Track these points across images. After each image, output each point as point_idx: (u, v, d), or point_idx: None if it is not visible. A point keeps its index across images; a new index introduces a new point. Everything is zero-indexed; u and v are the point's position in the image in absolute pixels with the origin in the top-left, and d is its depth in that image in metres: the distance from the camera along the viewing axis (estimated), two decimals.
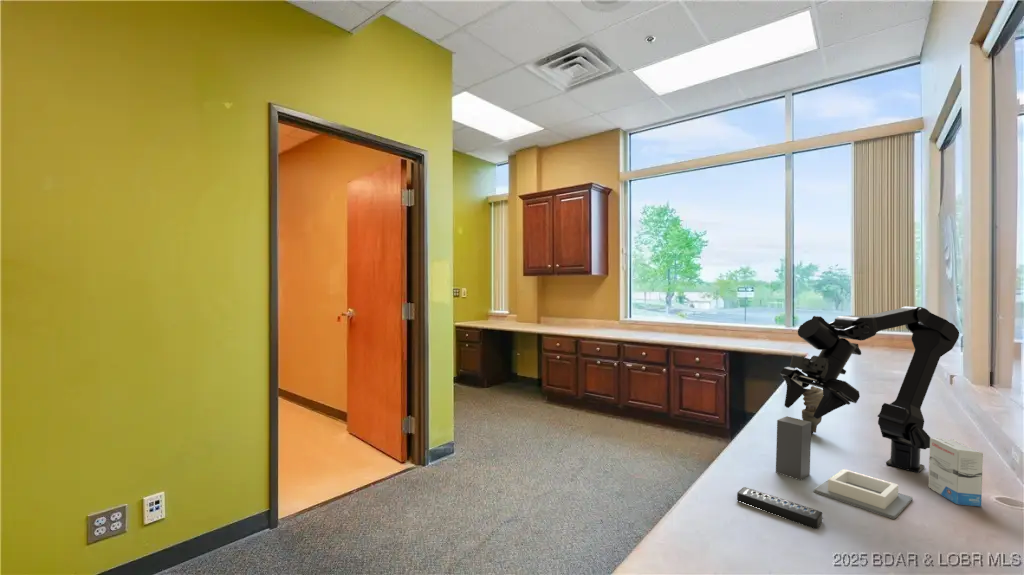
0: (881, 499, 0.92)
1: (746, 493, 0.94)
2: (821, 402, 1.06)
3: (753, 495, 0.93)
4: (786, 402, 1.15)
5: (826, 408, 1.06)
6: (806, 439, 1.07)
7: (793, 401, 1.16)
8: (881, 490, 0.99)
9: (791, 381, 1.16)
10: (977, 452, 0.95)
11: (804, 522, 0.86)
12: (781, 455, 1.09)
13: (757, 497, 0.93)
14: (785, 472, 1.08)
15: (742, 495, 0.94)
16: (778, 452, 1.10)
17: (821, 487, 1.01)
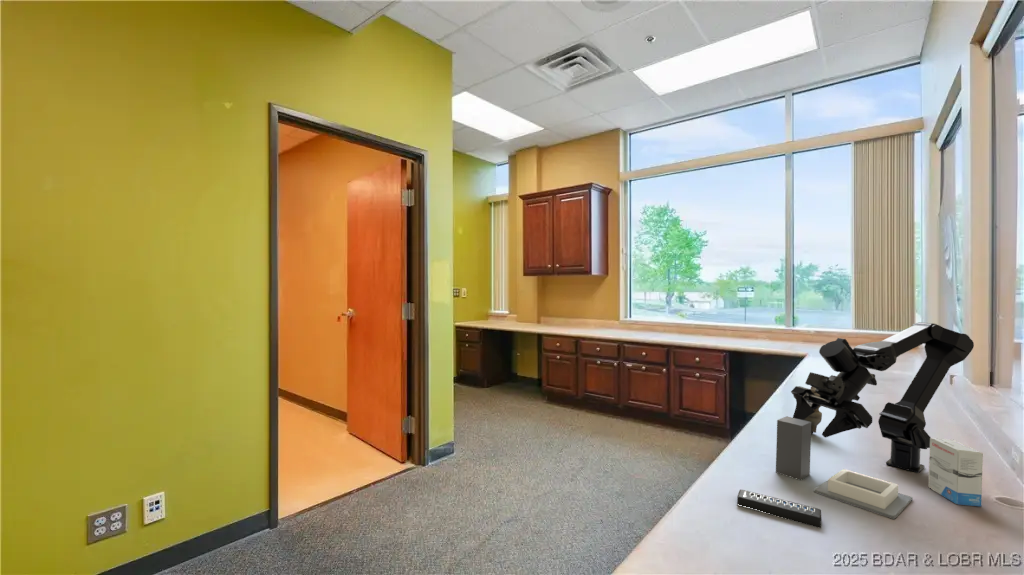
0: (881, 499, 0.92)
1: (746, 496, 0.93)
2: (832, 421, 1.05)
3: (753, 498, 0.92)
4: None
5: (836, 428, 1.05)
6: (806, 439, 1.07)
7: (800, 419, 1.15)
8: (881, 490, 0.99)
9: (802, 399, 1.16)
10: (977, 452, 0.95)
11: (808, 521, 0.86)
12: (781, 455, 1.09)
13: (758, 499, 0.92)
14: (785, 472, 1.08)
15: (743, 498, 0.92)
16: (778, 452, 1.10)
17: (821, 487, 1.01)
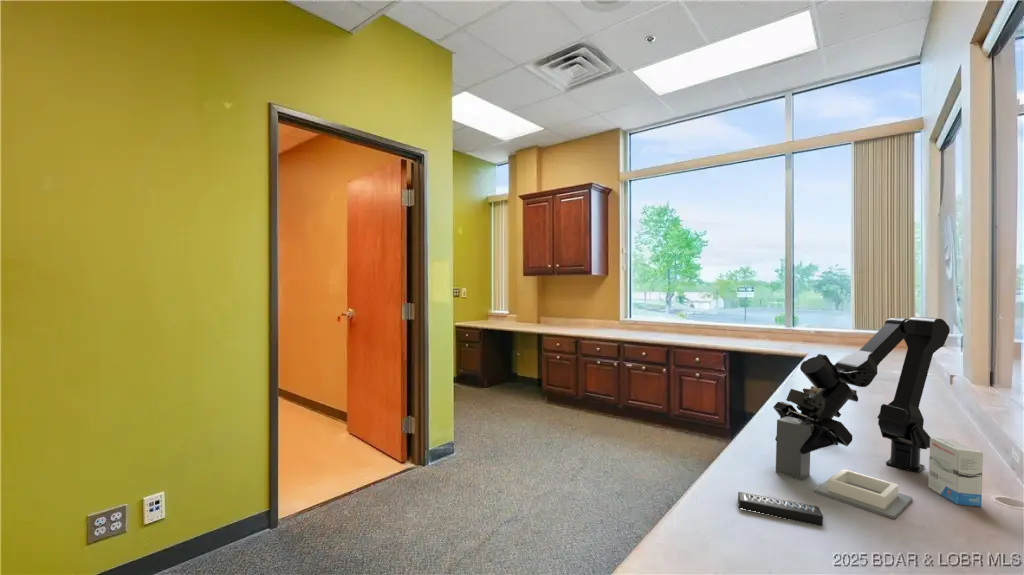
0: (881, 499, 0.92)
1: (747, 499, 0.92)
2: (809, 438, 1.05)
3: (754, 500, 0.91)
4: None
5: (813, 445, 1.05)
6: (806, 439, 1.07)
7: None
8: (881, 490, 0.99)
9: None
10: (977, 452, 0.95)
11: (811, 521, 0.86)
12: (781, 455, 1.09)
13: (759, 501, 0.91)
14: (785, 472, 1.08)
15: (745, 502, 0.91)
16: (778, 452, 1.10)
17: (821, 487, 1.01)
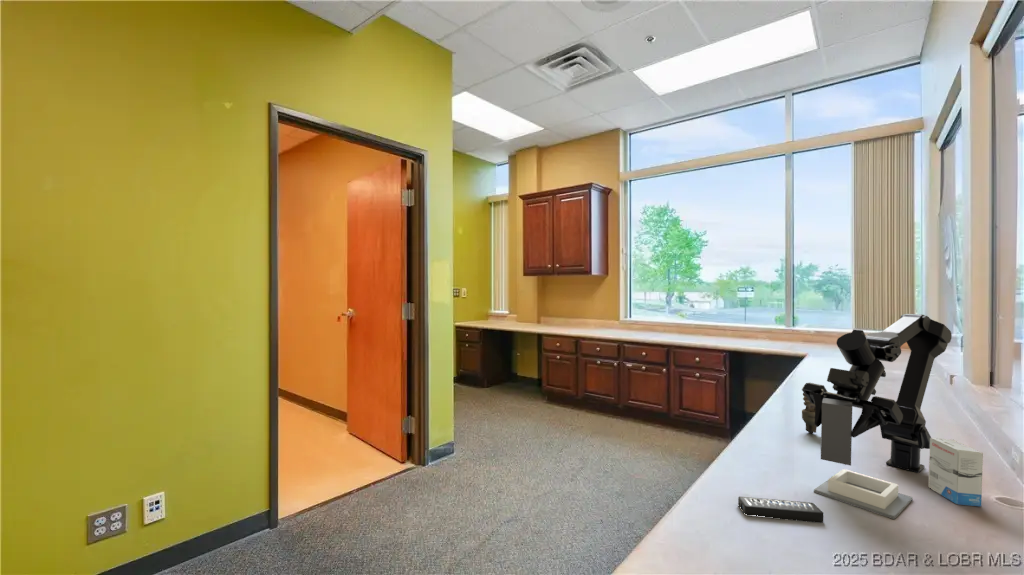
0: (881, 499, 0.92)
1: (751, 504, 0.90)
2: (860, 420, 0.98)
3: (758, 504, 0.90)
4: (816, 420, 1.05)
5: (864, 426, 0.98)
6: None
7: None
8: (881, 490, 0.99)
9: (822, 398, 1.06)
10: (977, 452, 0.95)
11: (813, 519, 0.87)
12: (827, 440, 1.01)
13: (763, 505, 0.89)
14: (832, 458, 1.00)
15: (751, 507, 0.89)
16: (823, 437, 1.01)
17: (821, 487, 1.01)
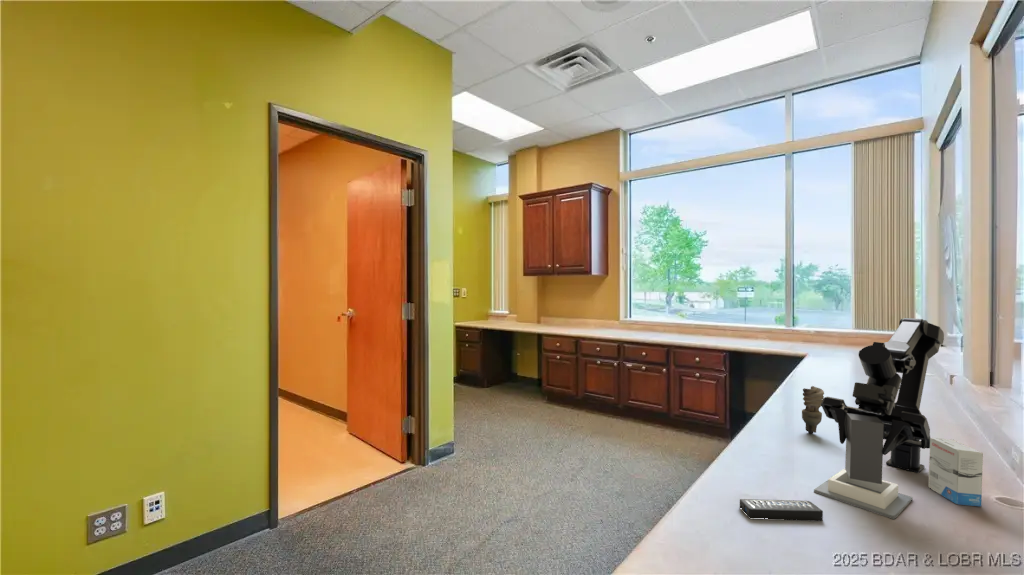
0: (881, 499, 0.92)
1: (754, 506, 0.89)
2: (890, 436, 0.95)
3: (760, 506, 0.89)
4: (841, 437, 1.01)
5: (894, 443, 0.95)
6: None
7: (845, 436, 1.02)
8: (881, 490, 0.99)
9: (844, 413, 1.03)
10: (977, 452, 0.95)
11: (813, 517, 0.87)
12: (856, 459, 0.97)
13: (766, 507, 0.89)
14: (862, 477, 0.96)
15: (755, 510, 0.88)
16: (853, 455, 0.97)
17: (821, 487, 1.01)
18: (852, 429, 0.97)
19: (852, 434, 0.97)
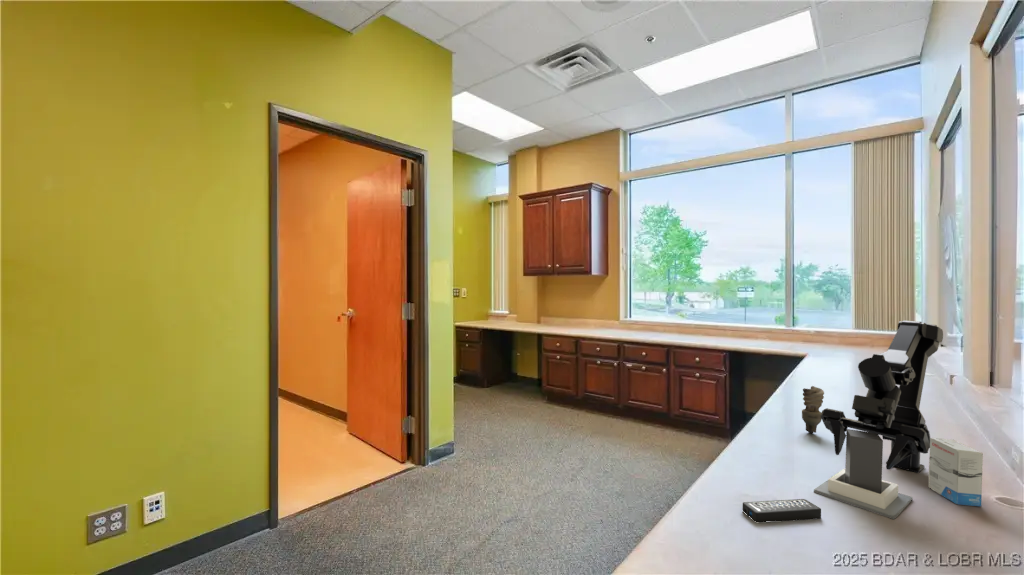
0: (881, 499, 0.92)
1: (759, 509, 0.88)
2: (894, 451, 0.94)
3: (765, 509, 0.88)
4: (837, 448, 1.01)
5: (898, 458, 0.94)
6: None
7: (841, 448, 1.02)
8: (881, 490, 0.99)
9: (840, 425, 1.03)
10: (977, 452, 0.95)
11: (813, 516, 0.88)
12: (856, 475, 0.97)
13: (770, 509, 0.88)
14: None
15: (761, 513, 0.86)
16: (852, 472, 0.97)
17: (821, 487, 1.01)
18: (851, 445, 0.97)
19: (851, 450, 0.97)
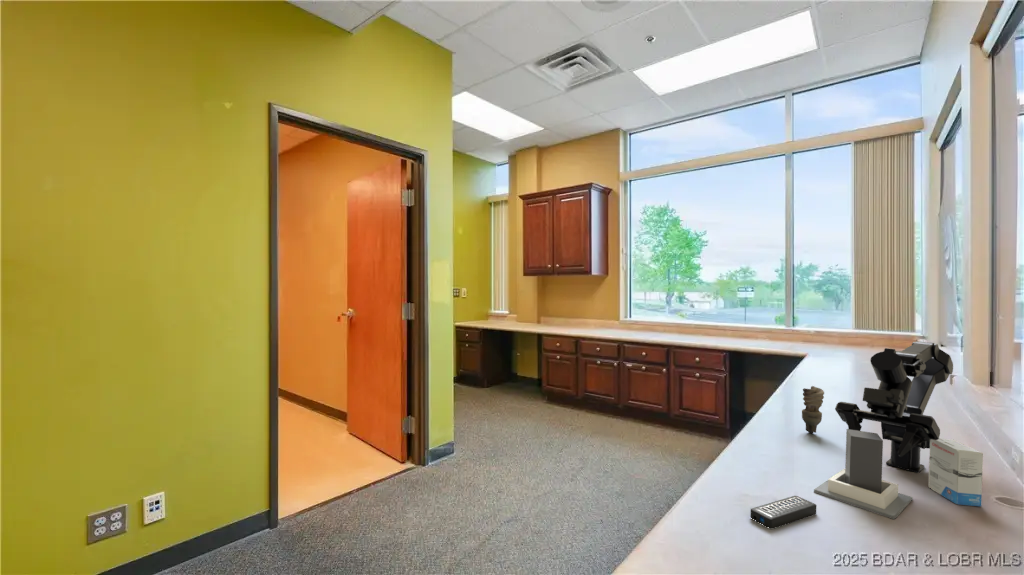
0: (881, 499, 0.92)
1: (770, 514, 0.86)
2: (905, 438, 1.00)
3: (774, 513, 0.86)
4: None
5: (909, 445, 1.00)
6: None
7: None
8: (881, 490, 0.99)
9: (853, 416, 1.09)
10: (977, 452, 0.95)
11: (811, 513, 0.89)
12: (856, 475, 0.97)
13: (778, 513, 0.86)
14: None
15: (774, 519, 0.84)
16: (852, 472, 0.97)
17: (821, 487, 1.01)
18: (851, 445, 0.97)
19: (851, 450, 0.97)
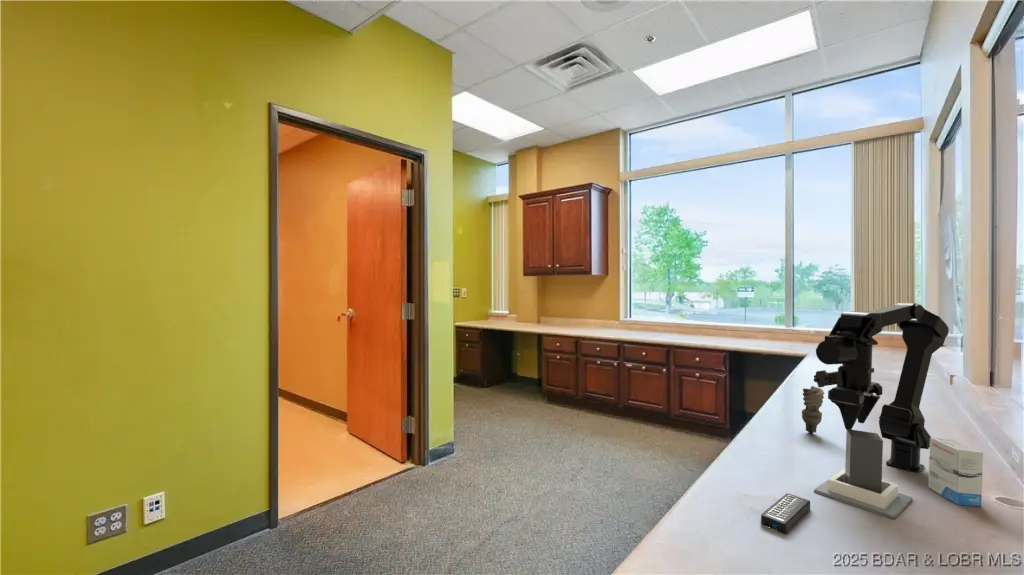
0: (881, 499, 0.92)
1: (781, 519, 0.84)
2: None
3: (783, 516, 0.85)
4: (857, 418, 1.13)
5: (848, 417, 1.06)
6: None
7: (865, 415, 1.11)
8: (881, 490, 0.99)
9: None
10: (977, 452, 0.95)
11: (807, 510, 0.90)
12: (856, 475, 0.97)
13: (786, 515, 0.86)
14: None
15: (787, 523, 0.83)
16: (852, 472, 0.97)
17: (821, 487, 1.01)
18: (851, 445, 0.97)
19: (851, 450, 0.97)
